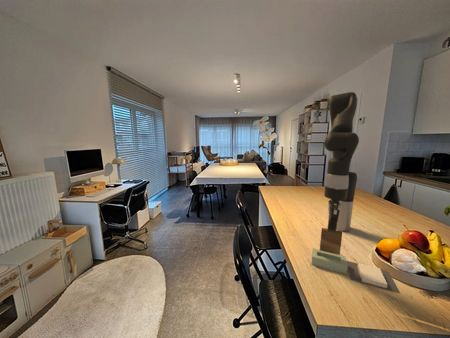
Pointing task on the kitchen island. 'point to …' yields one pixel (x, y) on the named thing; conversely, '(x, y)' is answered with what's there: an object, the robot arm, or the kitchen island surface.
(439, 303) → the kitchen island surface
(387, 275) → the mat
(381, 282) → the tile
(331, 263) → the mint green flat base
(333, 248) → the brown wooden block
